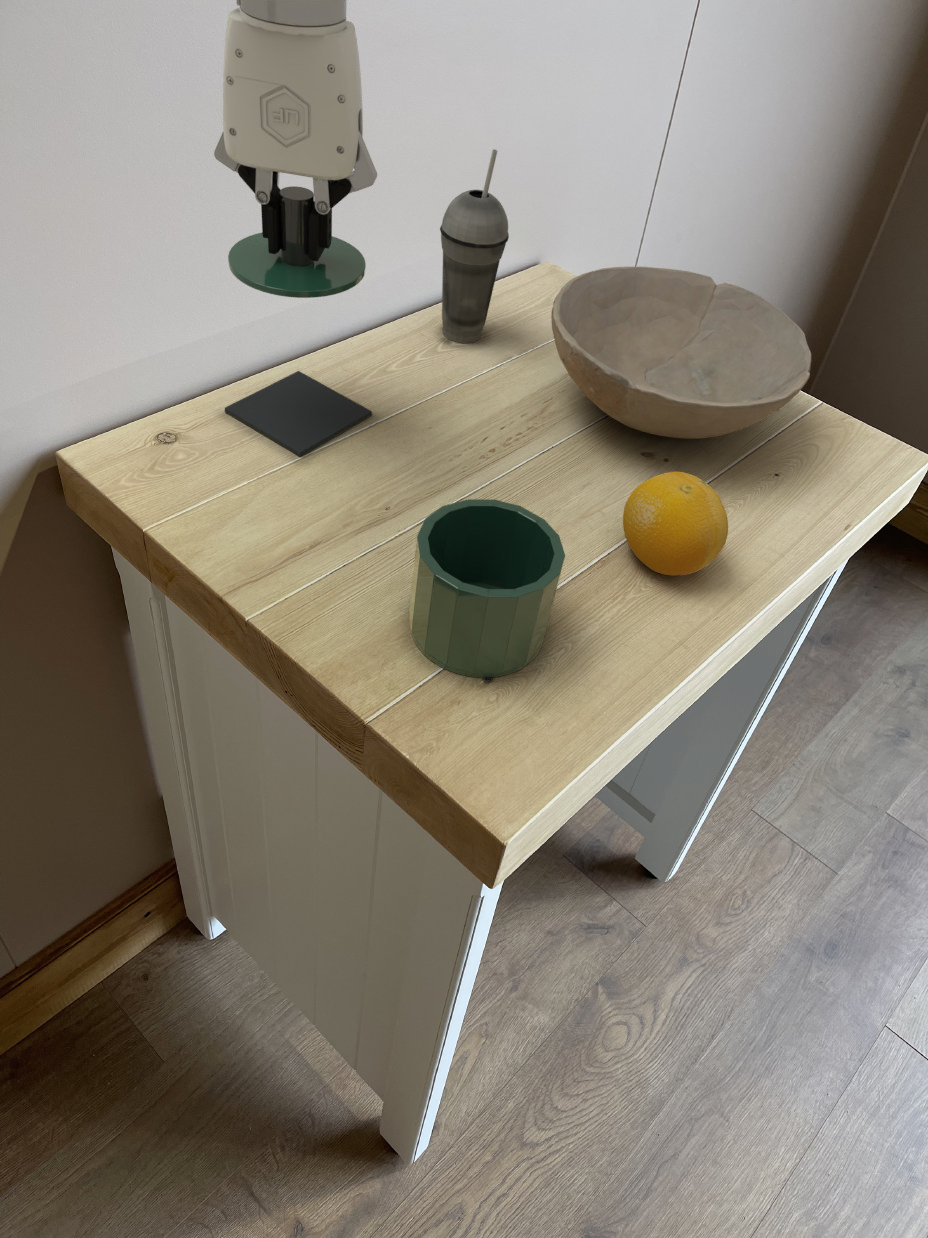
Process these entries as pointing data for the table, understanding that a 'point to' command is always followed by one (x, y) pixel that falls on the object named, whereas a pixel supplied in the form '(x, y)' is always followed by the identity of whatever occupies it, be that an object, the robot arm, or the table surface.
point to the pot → (483, 586)
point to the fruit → (675, 523)
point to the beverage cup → (471, 259)
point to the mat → (298, 413)
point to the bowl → (677, 350)
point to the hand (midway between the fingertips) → (297, 248)
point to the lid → (296, 256)
